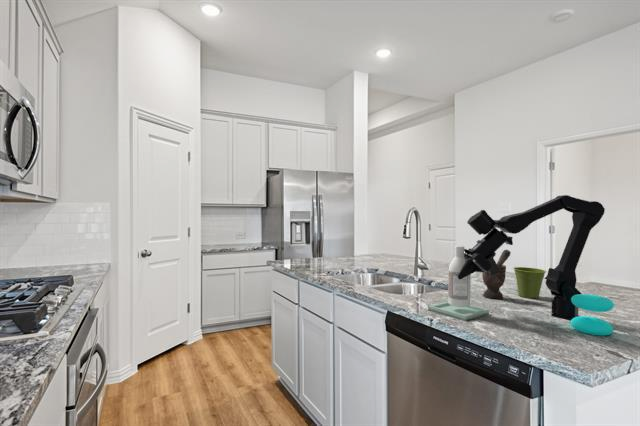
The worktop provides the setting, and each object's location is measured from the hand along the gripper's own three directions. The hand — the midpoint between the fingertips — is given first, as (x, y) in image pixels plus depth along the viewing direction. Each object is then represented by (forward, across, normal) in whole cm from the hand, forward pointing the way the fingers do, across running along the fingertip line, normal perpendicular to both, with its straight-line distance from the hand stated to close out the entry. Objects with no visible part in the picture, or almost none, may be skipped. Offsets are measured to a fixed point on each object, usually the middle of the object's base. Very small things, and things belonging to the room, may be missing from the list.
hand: (455, 276), depth 122 cm
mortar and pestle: (-7, +23, -25) cm, 35 cm away
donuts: (-16, -14, -34) cm, 40 cm away
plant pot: (-18, +28, -36) cm, 49 cm away
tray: (+8, 0, -9) cm, 12 cm away
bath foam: (+6, 0, -8) cm, 10 cm away
